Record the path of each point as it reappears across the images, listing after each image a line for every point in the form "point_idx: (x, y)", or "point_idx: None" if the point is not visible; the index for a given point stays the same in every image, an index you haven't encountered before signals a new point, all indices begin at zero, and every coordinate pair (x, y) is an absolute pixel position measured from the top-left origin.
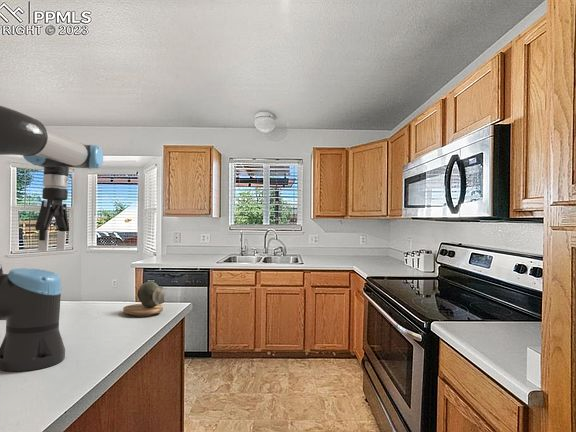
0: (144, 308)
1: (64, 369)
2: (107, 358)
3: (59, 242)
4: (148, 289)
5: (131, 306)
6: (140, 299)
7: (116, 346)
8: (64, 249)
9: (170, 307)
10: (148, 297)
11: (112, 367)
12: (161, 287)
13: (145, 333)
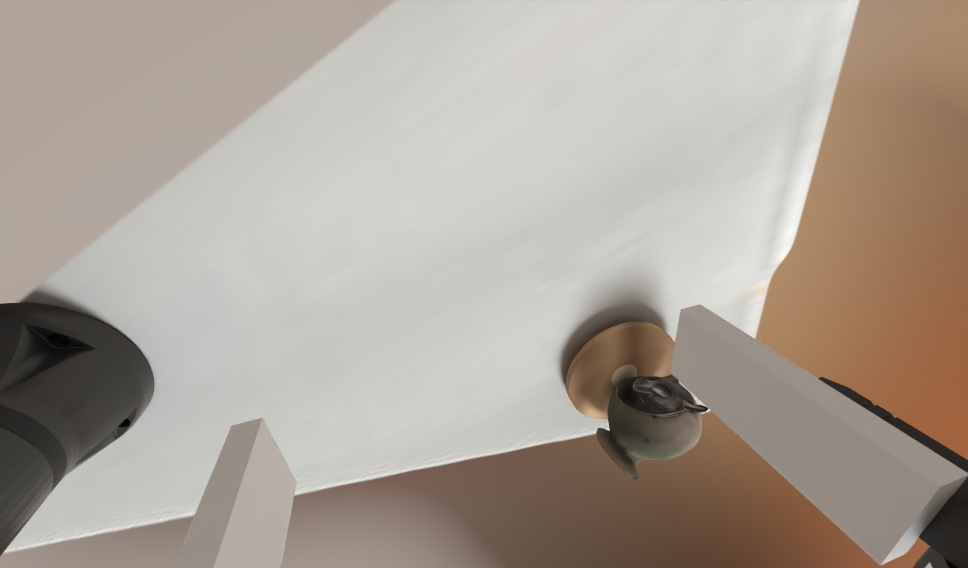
0: (609, 384)
1: None
2: (178, 489)
3: (738, 382)
4: (633, 443)
5: (638, 342)
6: (617, 399)
7: None
8: (675, 371)
9: None
10: (612, 426)
11: (125, 523)
12: (636, 475)
13: (405, 456)
